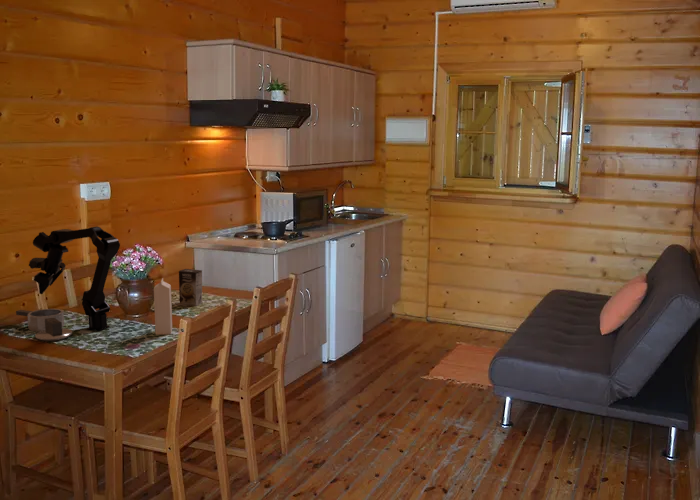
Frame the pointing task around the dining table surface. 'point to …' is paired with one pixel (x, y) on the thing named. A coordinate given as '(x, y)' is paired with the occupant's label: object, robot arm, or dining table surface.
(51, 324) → the cup and saucer
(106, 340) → the dining table surface
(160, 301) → the milk
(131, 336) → the dining table surface
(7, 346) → the dining table surface
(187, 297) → the coffee box
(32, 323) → the pot
